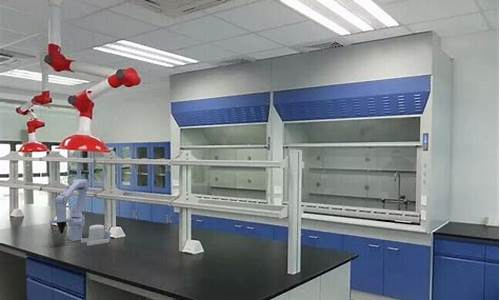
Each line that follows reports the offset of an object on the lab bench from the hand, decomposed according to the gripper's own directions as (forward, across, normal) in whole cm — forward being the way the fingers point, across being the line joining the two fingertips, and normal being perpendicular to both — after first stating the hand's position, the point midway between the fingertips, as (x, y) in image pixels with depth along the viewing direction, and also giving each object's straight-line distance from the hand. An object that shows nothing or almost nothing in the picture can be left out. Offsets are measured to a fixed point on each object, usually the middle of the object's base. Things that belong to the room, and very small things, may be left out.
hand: (61, 233), depth 259 cm
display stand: (+8, +20, -6) cm, 23 cm away
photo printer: (+9, +21, -6) cm, 24 cm away
